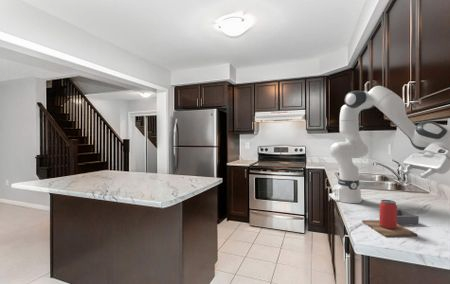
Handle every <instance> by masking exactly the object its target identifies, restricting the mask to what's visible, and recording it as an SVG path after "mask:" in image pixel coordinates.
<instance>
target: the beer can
mask: <svg viewBox="0 0 450 284" xmlns="http://www.w3.org/2000/svg"><path fill="white" fill-rule="evenodd" d="M396 203H397V202H396V201H394V200H391V199H381V200H380V202H379V219H378V220H379V224H380V226H382V227H384V228H387V229H396V228H397V209H398V205H397V204H396Z"/></svg>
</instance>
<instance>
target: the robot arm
mask: <svg viewBox="0 0 450 284" xmlns="http://www.w3.org/2000/svg"><path fill="white" fill-rule="evenodd" d="M375 107H376V108H377V109H378V110H379V111H380V112H382V113H383V114H384V115H385V116H386V117H387V118H388V119H389V120H390V121H391V122H392V123H393V124H394V125H395V126H396V127H397V128H398V129H399V130H400V131H401V132H402V133H403V134H404V135H405V136H406V137H407V138H408V139H409V141H410V143H411V145H412V147H414V148H415V149H416V150H419V151H422V152H417V153H416V152H414V153H412V154H411V155H409V156H408V157H407V158H405V159H404V160H403V161H402V162H403V165H404V166H405V169H404V170H403V173H404V174H406V175H409V174H410V173H411V170H413V169H414V170H420V171H425V172H422V173H420V177H421V178H423V179H426V178H428V177H430V176H431V175H434V174H441V175H444V174H446V173H448V172H449V171H450V124H449V125H448V124H440V123H437V122H436V121H432V120H424V121H422V122H421V121H420V122H419V123H418V124H415V123H414V122H413V121H411V119H409V117H408V115H407V111H406V105H405V101H404V100H403V99H402V98H401V96H399V95H398V94H397V93H395V92H394V91H393V90H391V89H389V88H387V87H385V86H382V85H376V86H373V87H372V88H371V89H370V90H369V91H366V90H353V91H350V92H348V93H347V94H345V97H344V104H343V105H342V106H341V107H340V112H339V134H340V135H341V136H343V137H344V138H345V139H344V140H345V141H338V142H334V143H332V144H331V146H330V148H329V152H330V156H332V157H333V158H334V159H335V160H336V162H337V166H338V170H339V171H338V173H339V178H338V179H337V184H336V185H334V186H333V187H332V189H331V193H328V196H330V198H331V199H332V200H333V201H336V202H341V203H346V204H359V203H360V204H361V202H362V201H364V199H363V198H362V193H361V192H362V189H361V187H360V180H359V168H358V166H357V165H356V164H354V162H353V159H360V158H363V157H365V156H367V155H368V154H369V146H368V145H367V144H366V143H365V142H364V141H363V140H362V139H363V138H362V137H361V134H360V128H359V125H360V124H359V120H360V119H359V116H360V115H359V114H360V112H361V111H362V112H365V111H367V110H369V109H372V108H375Z"/></svg>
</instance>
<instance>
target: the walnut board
mask: <svg viewBox="0 0 450 284" xmlns="http://www.w3.org/2000/svg"><path fill="white" fill-rule="evenodd" d="M361 222H363V224H364V225H365V224H366V226H367V225H368V226H367V227H369V228H370V227H371V228H370V229H372V230H373V229H374V231H375V232H377V233H378V234H380V235H381V236H383V237H385V238H391V237H392V238H395V237H396V238H397V237H398V238H400V237H402V238H403V237H418V233H416V232H415V231H412V230H411V229H408V228H406V227H405V226H403V225H399V224H397V228H396V229H387V228H384V227H382V226H380V224H379V219H377V220H376V219H374V220H373V219H372V220H371V219H369V220H366V219H365V220H361Z"/></svg>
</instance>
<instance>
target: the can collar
mask: <svg viewBox="0 0 450 284" xmlns="http://www.w3.org/2000/svg"><path fill="white" fill-rule="evenodd" d="M419 218H420V217H419V215H416V214H414V213H412V212H409V211H407V210H404V209H402V208H397V224H399V225H401V226H403V225H405V224H413V225H419V224H420V222H419ZM405 226H406V225H405Z"/></svg>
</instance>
